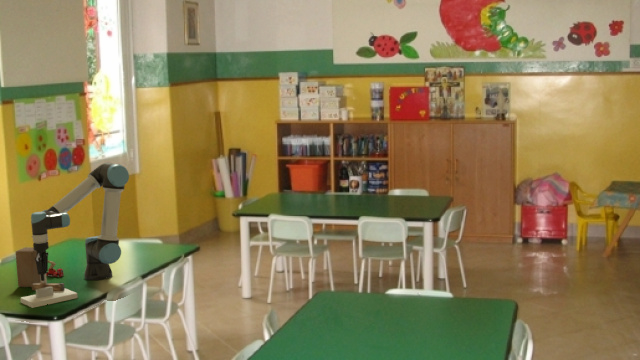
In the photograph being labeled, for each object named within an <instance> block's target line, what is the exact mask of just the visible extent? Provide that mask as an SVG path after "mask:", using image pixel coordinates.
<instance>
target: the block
mask: <svg viewBox="0 0 640 360" xmlns="http://www.w3.org/2000/svg"><path fill="white" fill-rule="evenodd" d="M35 258H37V251H36V250H34V249H33V247H27V246H26V247H23V248H20V249H19V250H16V251H15V260H16V261H15V262H16V274H17V286H18V287H19V288H32V284H34V283H41V280H40V275H38V271H37V265H36V261H35Z"/></svg>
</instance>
